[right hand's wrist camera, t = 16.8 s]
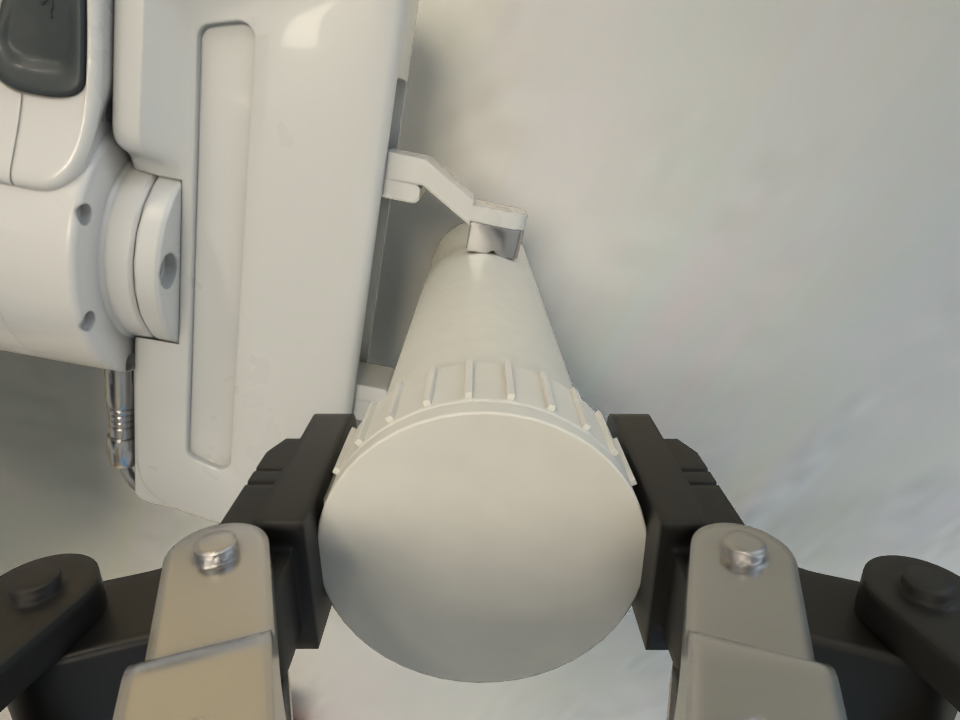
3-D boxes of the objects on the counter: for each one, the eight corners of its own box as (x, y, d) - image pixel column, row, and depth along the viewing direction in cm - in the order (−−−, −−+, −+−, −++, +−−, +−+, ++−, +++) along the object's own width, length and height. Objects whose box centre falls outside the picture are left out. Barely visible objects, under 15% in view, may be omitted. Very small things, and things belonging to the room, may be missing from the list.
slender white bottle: (416, 285, 28) (307, 572, 10) (460, 201, 26) (423, 362, 9) (498, 328, 29) (529, 664, 11) (544, 248, 27) (667, 484, 9)
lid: (569, 627, 12) (585, 713, 10) (313, 568, 11) (283, 648, 10) (670, 403, 10) (709, 460, 8) (373, 321, 10) (349, 364, 8)
